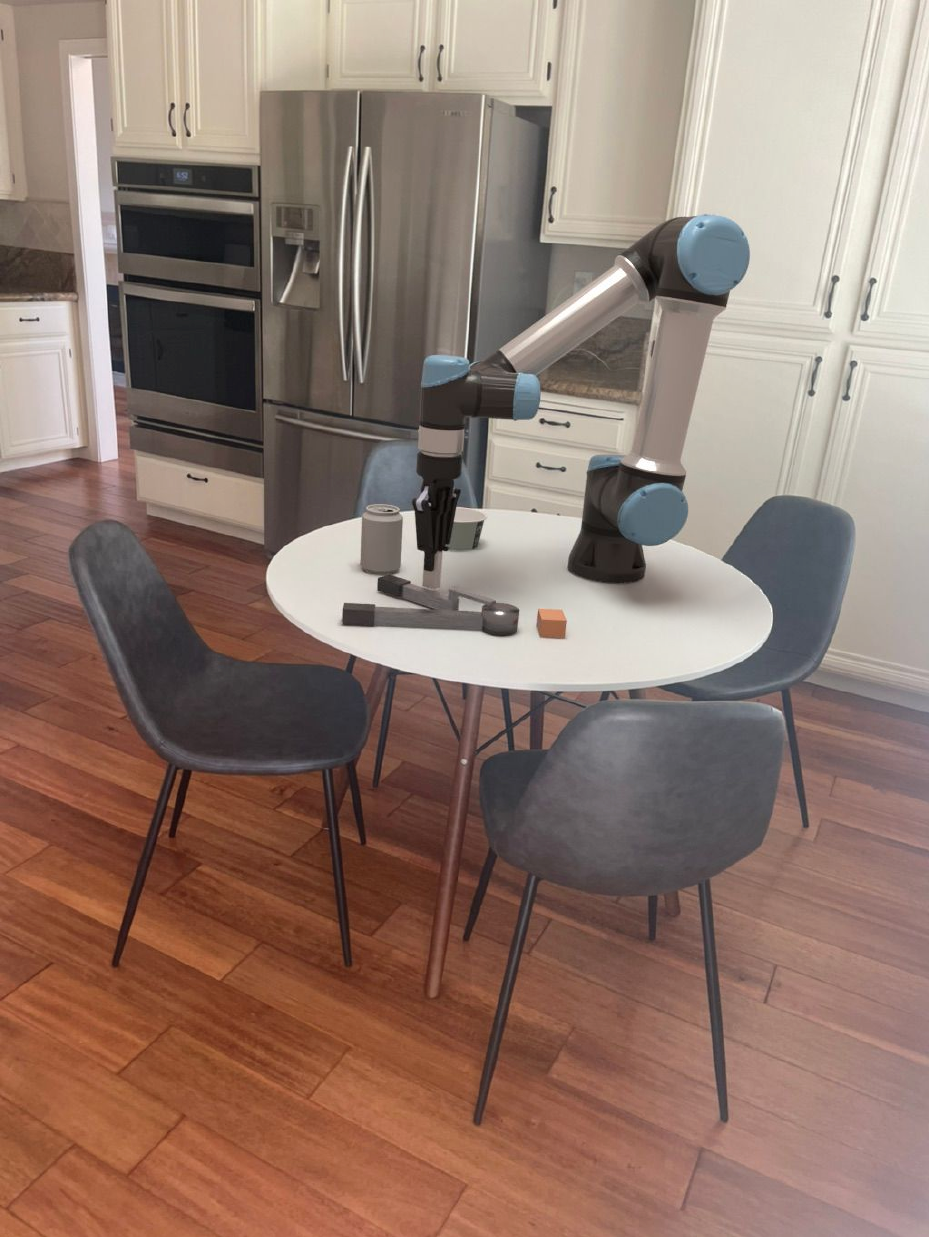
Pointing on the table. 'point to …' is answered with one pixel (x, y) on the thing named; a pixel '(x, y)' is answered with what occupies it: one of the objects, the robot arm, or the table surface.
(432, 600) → the tongs arm
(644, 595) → the table surface
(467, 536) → the food container
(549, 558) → the table surface
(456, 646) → the table surface
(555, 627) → the terracotta clay cube
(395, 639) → the table surface
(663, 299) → the robot arm
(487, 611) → the tongs fixed
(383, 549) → the can
